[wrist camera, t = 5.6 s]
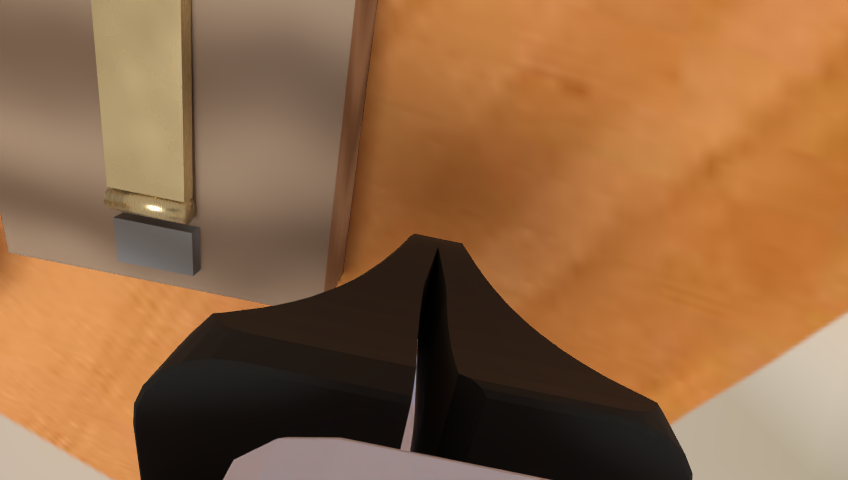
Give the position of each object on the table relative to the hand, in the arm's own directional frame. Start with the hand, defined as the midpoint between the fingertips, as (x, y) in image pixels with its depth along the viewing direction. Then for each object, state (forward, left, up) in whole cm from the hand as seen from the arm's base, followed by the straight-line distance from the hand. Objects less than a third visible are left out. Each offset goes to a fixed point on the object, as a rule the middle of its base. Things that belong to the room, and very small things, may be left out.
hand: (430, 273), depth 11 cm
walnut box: (+2, +11, -10) cm, 15 cm away
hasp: (+2, +11, -6) cm, 13 cm away
